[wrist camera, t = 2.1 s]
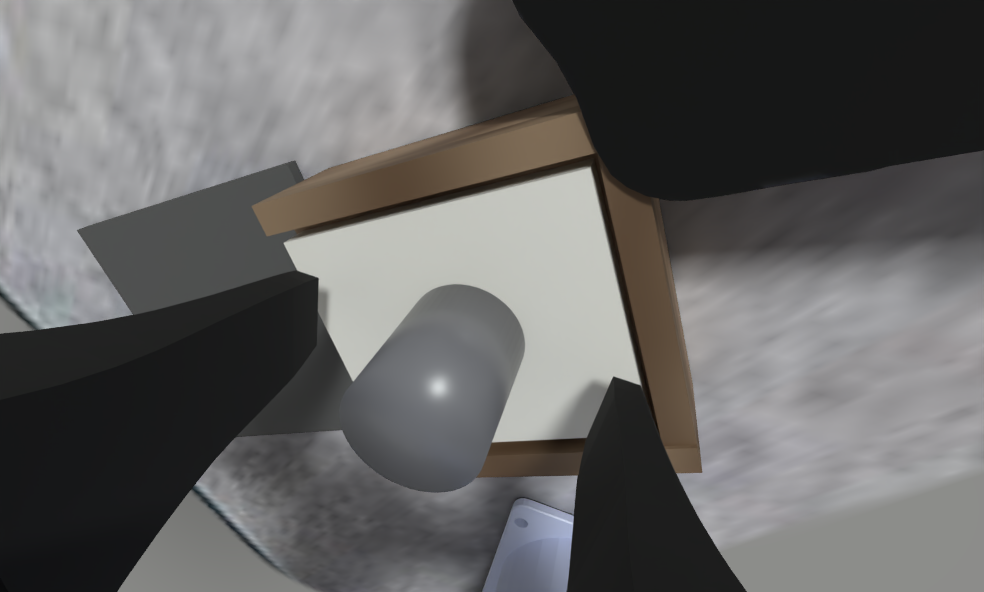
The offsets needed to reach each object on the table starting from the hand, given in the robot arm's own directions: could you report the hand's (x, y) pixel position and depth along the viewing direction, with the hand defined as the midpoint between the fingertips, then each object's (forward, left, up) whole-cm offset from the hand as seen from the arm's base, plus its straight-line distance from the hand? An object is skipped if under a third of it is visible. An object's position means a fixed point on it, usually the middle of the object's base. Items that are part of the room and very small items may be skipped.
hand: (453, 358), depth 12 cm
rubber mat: (-5, +9, -4) cm, 11 cm away
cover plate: (0, 0, -2) cm, 2 cm away
